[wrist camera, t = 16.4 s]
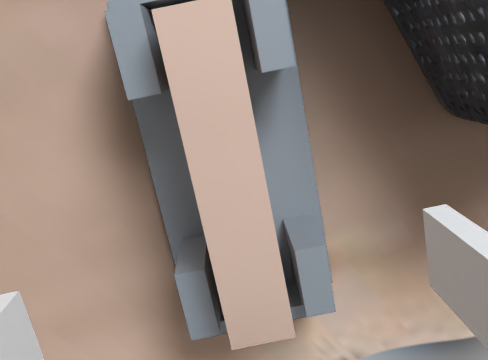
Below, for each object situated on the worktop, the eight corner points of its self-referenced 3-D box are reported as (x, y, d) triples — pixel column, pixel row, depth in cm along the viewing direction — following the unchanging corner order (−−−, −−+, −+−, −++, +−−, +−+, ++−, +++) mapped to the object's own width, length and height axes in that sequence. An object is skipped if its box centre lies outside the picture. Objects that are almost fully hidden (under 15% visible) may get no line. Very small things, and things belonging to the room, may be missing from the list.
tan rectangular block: (229, 280, 37) (231, 350, 28) (170, 21, 32) (151, 9, 23) (278, 270, 37) (296, 337, 28) (227, 9, 32) (230, -7, 23)
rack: (188, 302, 39) (181, 359, 32) (111, 4, 33) (79, -9, 25) (328, 274, 39) (352, 324, 32) (278, -30, 33) (294, -54, 25)
